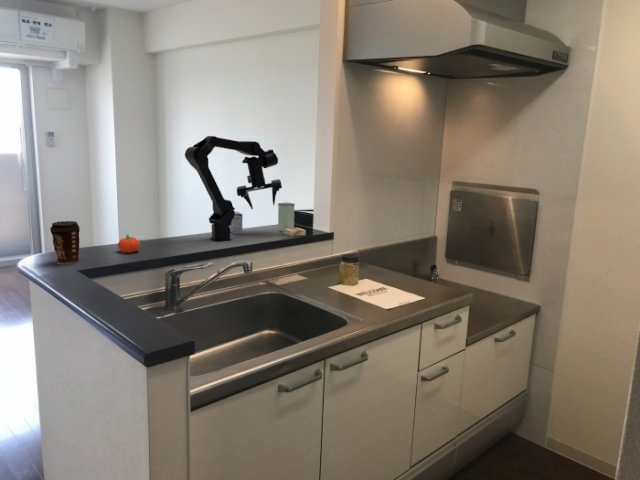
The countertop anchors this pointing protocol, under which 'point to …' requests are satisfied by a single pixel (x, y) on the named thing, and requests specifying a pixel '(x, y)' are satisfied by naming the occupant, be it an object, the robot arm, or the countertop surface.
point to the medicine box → (236, 224)
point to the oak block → (294, 231)
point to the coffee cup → (66, 241)
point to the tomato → (128, 244)
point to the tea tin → (285, 216)
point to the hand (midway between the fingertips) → (263, 206)
